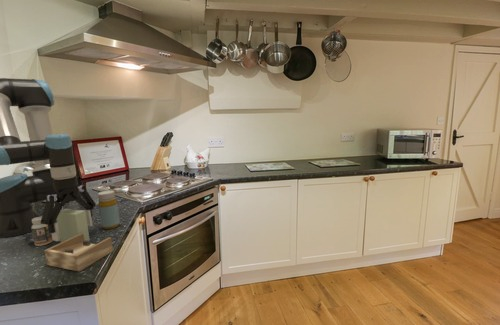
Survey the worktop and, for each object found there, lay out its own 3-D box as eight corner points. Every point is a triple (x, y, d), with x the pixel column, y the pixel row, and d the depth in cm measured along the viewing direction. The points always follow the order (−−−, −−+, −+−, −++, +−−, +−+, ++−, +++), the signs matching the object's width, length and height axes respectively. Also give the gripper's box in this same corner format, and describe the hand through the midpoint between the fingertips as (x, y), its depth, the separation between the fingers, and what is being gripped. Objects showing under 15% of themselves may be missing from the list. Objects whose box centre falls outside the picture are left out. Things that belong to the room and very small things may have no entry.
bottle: (122, 222, 120) (118, 189, 118) (115, 229, 114) (110, 194, 111) (106, 223, 120) (102, 190, 118) (98, 230, 113) (93, 195, 111)
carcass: (47, 264, 88) (44, 250, 87) (83, 246, 100) (81, 233, 99) (79, 271, 83) (76, 256, 82) (113, 250, 95) (111, 237, 94)
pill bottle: (53, 243, 103) (48, 218, 101) (34, 248, 100) (29, 222, 98) (53, 238, 107) (49, 214, 106) (35, 242, 104) (30, 217, 102)
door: (58, 243, 103) (53, 213, 101) (70, 237, 107) (65, 208, 105) (78, 246, 99) (73, 215, 97) (89, 240, 104) (85, 210, 102)
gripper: (35, 186, 87) (47, 249, 90) (100, 170, 109) (108, 221, 113) (19, 185, 89) (32, 246, 93) (86, 169, 112) (94, 219, 116)
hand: (73, 232), depth 103 cm, fingers open, 12 cm apart
